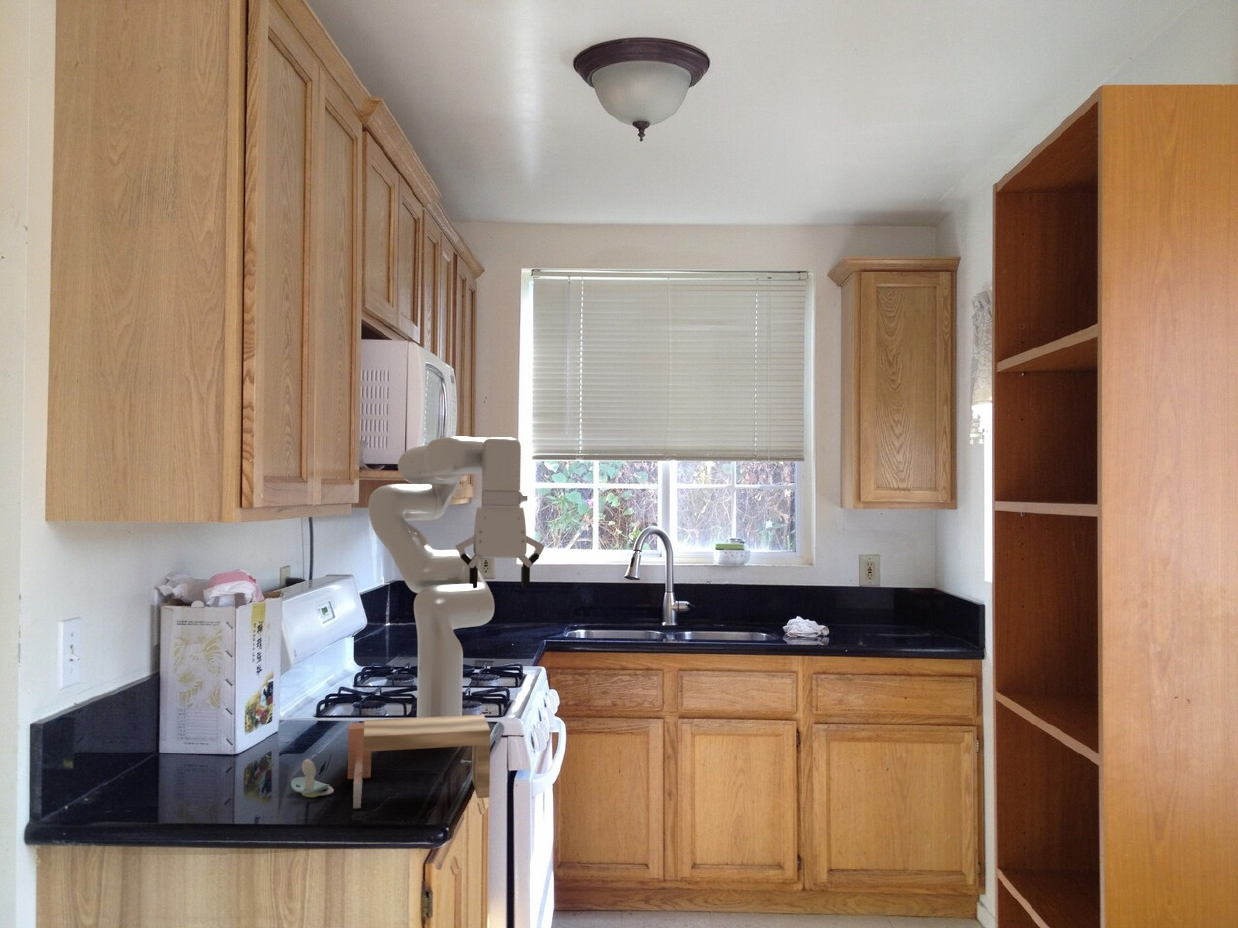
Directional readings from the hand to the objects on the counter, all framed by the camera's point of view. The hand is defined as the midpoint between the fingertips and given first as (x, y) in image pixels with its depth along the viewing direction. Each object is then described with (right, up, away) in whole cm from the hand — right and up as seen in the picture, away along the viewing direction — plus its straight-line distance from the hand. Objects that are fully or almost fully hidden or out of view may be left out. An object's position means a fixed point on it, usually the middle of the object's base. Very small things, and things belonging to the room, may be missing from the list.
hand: (499, 587), depth 187 cm
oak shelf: (-10, -33, -21) cm, 40 cm away
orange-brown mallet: (-22, -33, -20) cm, 44 cm away
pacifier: (-29, -33, -23) cm, 49 cm away
